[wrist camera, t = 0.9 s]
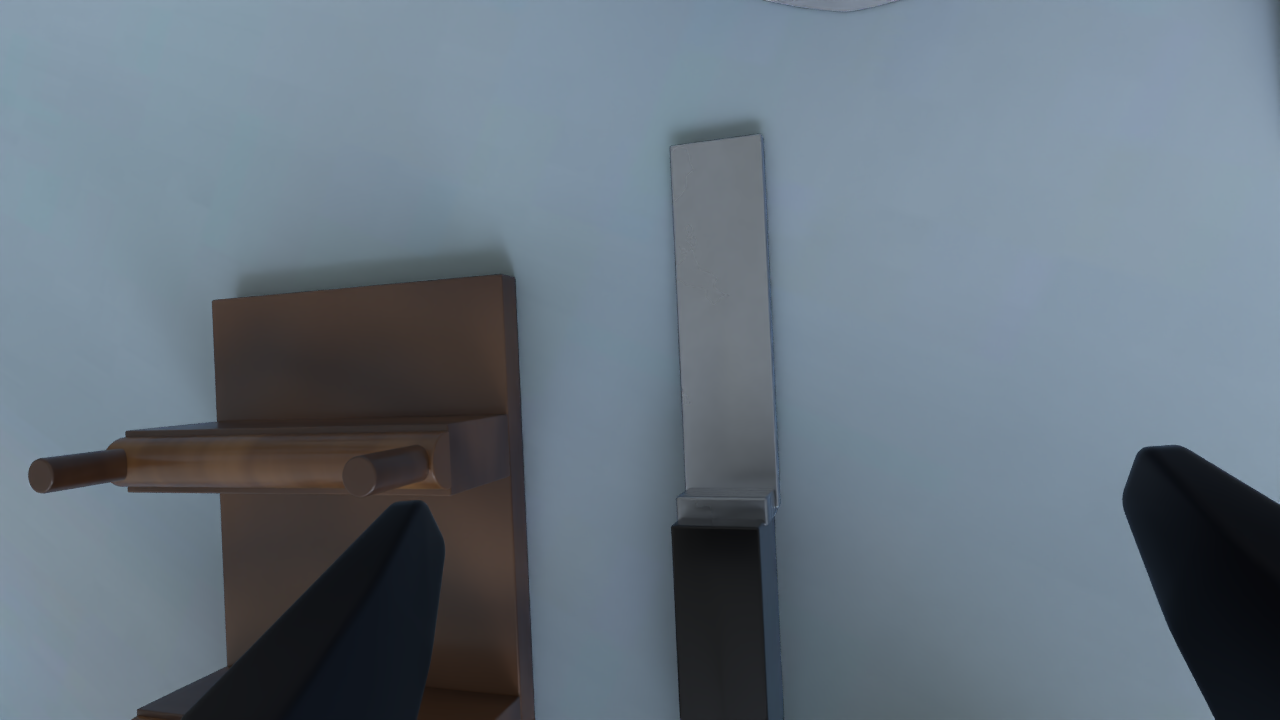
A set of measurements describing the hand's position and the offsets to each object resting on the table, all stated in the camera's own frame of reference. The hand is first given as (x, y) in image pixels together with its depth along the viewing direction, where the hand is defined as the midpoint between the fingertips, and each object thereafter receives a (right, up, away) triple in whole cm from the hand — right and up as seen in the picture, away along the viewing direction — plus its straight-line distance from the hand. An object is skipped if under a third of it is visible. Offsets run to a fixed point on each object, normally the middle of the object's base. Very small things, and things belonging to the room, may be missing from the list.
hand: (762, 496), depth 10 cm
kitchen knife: (+1, -3, +13) cm, 13 cm away
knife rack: (-11, -6, +17) cm, 21 cm away
